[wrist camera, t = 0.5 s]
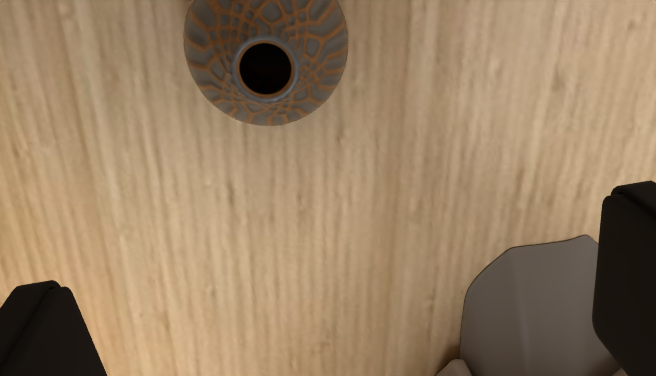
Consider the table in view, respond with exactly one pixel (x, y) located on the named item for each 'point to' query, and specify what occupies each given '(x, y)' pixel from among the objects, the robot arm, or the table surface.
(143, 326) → the table surface
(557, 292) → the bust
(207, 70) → the vase
